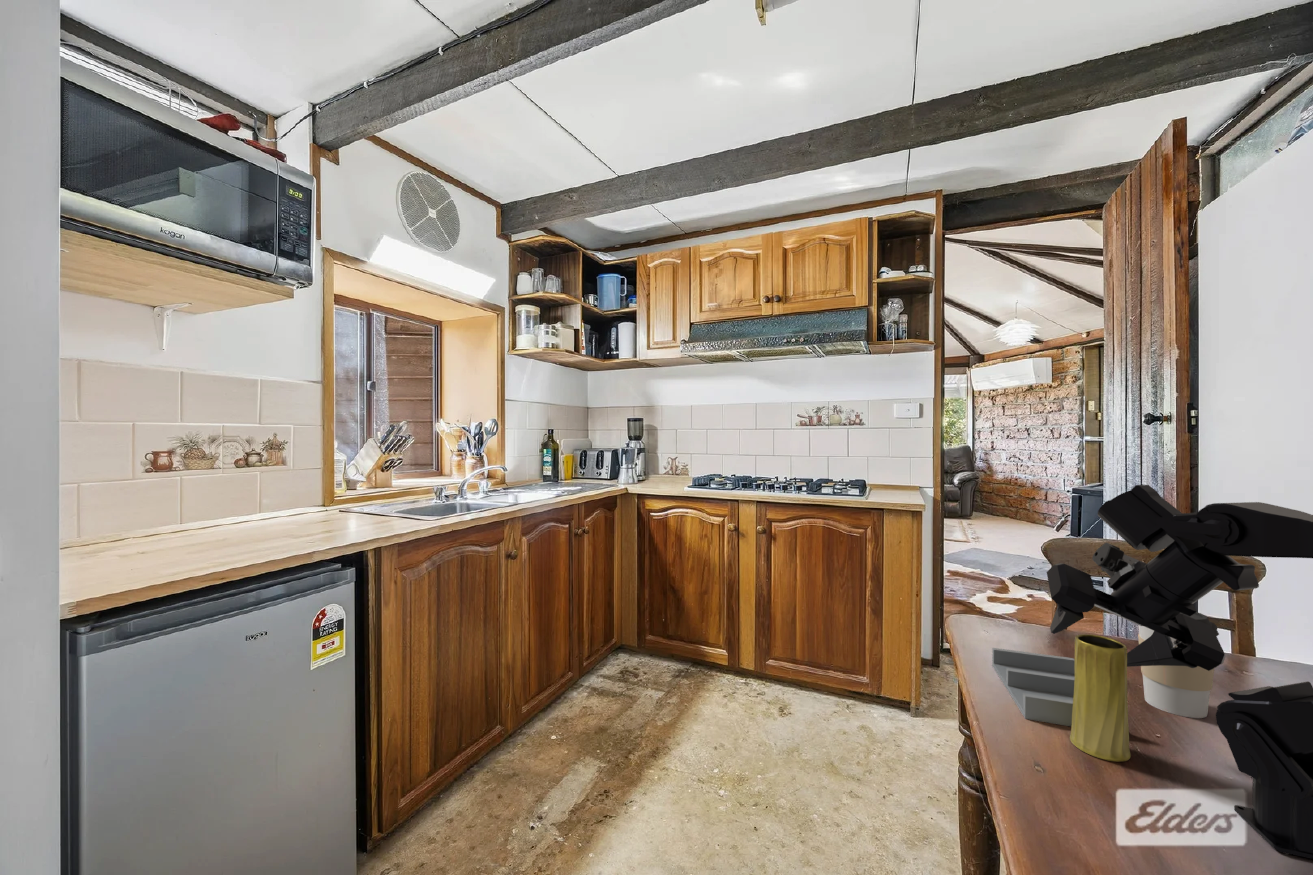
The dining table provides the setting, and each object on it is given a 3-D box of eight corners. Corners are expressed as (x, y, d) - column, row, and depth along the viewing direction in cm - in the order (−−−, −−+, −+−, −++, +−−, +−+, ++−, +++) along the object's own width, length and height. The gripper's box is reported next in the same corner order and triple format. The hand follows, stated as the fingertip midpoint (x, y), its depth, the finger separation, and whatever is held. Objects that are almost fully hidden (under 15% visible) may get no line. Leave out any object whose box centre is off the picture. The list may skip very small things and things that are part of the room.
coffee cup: (1236, 725, 75) (1237, 621, 75) (1162, 718, 77) (1163, 616, 77) (1186, 695, 84) (1187, 602, 84) (1121, 689, 86) (1122, 598, 86)
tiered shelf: (1127, 735, 72) (1128, 712, 72) (1025, 718, 76) (1025, 696, 76) (1072, 677, 90) (1073, 658, 90) (992, 665, 94) (992, 647, 94)
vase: (1060, 741, 70) (1061, 636, 70) (1085, 731, 73) (1086, 629, 73) (1115, 767, 65) (1116, 653, 65) (1140, 755, 67) (1141, 645, 67)
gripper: (1235, 570, 67) (1145, 634, 77) (1079, 508, 72) (1012, 576, 82) (1274, 637, 59) (1167, 700, 69) (1094, 562, 64) (1018, 631, 73)
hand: (1086, 646), depth 73 cm, fingers open, 9 cm apart
